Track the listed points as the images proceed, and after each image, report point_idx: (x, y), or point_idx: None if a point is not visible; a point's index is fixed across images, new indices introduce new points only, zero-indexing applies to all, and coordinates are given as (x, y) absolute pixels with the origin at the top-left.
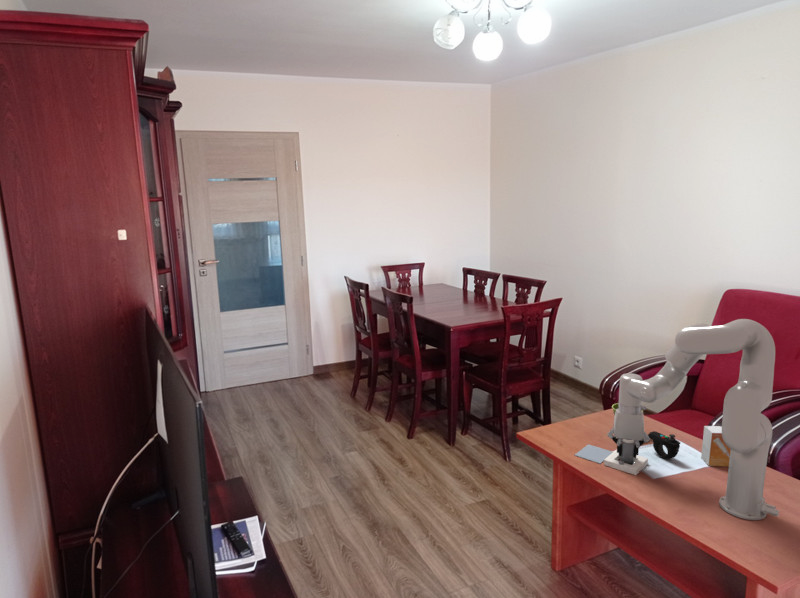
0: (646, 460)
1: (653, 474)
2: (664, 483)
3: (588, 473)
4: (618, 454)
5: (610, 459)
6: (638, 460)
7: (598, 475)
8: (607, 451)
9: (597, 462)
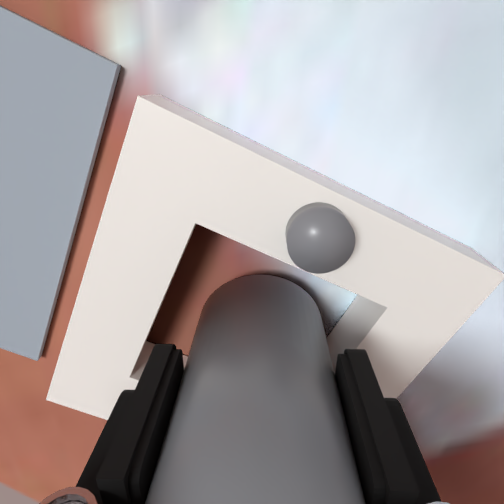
0: (469, 311)
1: (447, 410)
2: (477, 490)
3: (3, 478)
4: (170, 261)
5: (100, 383)
6: (376, 343)
7: (67, 486)
8: (44, 76)
9: (13, 349)
